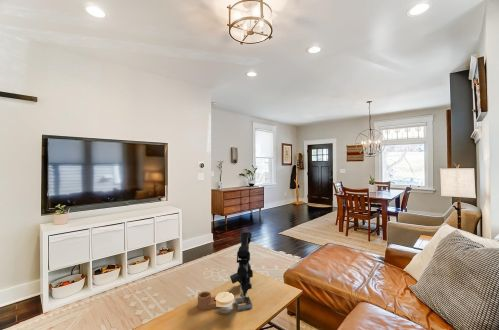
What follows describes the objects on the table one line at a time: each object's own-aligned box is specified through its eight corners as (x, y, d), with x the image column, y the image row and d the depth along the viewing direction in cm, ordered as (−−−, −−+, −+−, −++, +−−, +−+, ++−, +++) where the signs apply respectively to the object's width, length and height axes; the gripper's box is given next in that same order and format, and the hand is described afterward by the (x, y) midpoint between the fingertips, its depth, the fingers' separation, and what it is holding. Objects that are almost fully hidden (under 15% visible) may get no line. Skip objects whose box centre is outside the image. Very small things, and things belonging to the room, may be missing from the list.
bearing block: (235, 302, 151) (235, 298, 151) (248, 300, 154) (248, 296, 154) (238, 310, 142) (237, 306, 142) (252, 308, 145) (252, 304, 145)
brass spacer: (239, 294, 150) (239, 284, 150) (246, 293, 151) (246, 283, 151) (240, 298, 145) (240, 288, 145) (247, 296, 146) (247, 287, 147)
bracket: (197, 310, 143) (197, 299, 143) (197, 302, 151) (197, 292, 151) (226, 306, 147) (226, 295, 147) (225, 299, 155) (225, 289, 155)
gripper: (228, 264, 155) (228, 288, 155) (233, 277, 137) (233, 303, 137) (244, 262, 158) (244, 285, 158) (251, 275, 140) (251, 301, 140)
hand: (243, 293), depth 148 cm, fingers closed on brass spacer, 5 cm apart
